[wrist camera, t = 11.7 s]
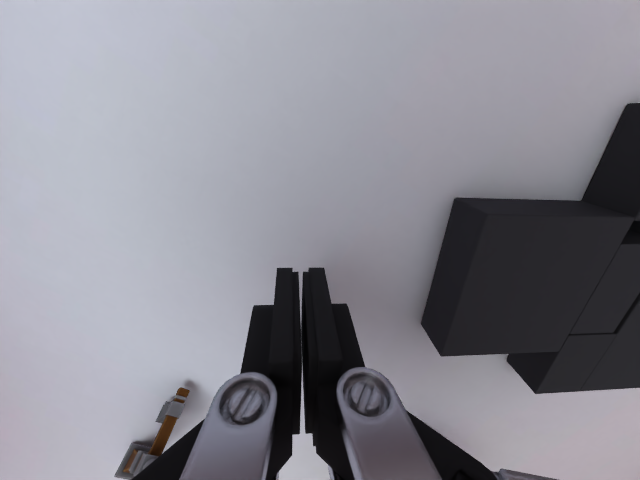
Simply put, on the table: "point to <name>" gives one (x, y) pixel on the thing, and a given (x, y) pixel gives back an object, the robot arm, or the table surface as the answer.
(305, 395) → the robot arm
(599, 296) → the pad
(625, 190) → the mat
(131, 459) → the brown jointed two-tone fixture
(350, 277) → the table surface
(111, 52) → the table surface
